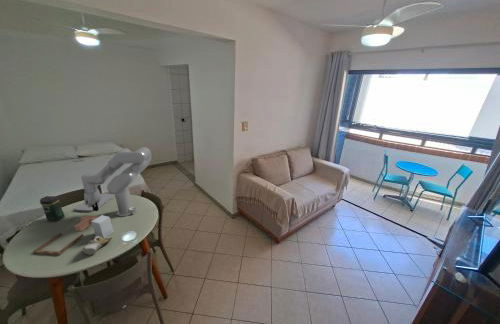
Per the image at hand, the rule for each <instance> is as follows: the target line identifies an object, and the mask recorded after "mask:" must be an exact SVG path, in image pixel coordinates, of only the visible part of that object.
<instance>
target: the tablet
mask: <svg viewBox="0 0 500 324" xmlns="http://www.w3.org/2000/svg"><path fill="white" fill-rule="evenodd" d="M100 195H101V200H100V201H99V203H98V204H99V205H98V208H100V206H101V207H102V206H104V205H105V204H106V203H108V202H109V201H110V200H109V199H111V198H112V197H114V198H115V194H113V193H100ZM112 199H113V198H112ZM112 199H111V200H112ZM108 200H109V201H108ZM107 201H108V202H107ZM105 202H106V203H105ZM104 203H105V204H104ZM74 210H75V211H77V212H88V213H92V212H94V211H93V208H92V207H88V205H85V201H84V202H83V203H81V204H79V205H78V206H76V207H74Z"/></svg>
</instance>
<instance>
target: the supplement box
mask: <svg viewBox="0 0 500 324" xmlns="http://www.w3.org/2000/svg"><path fill="white" fill-rule="evenodd" d="M111 221H112V220H111V218H110V216H106V215H102V214H101V215H100V216H98V218H96V219H95V220H93V221H91V223H92V224H91V227H92V228H93V231H94V235H95V237H96V236H101V237H103V239H107V238H109V236H111V235H112V234H114V227H113V224H112V222H111Z"/></svg>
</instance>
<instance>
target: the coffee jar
mask: <svg viewBox="0 0 500 324" xmlns="http://www.w3.org/2000/svg"><path fill="white" fill-rule="evenodd" d="M39 203H40V205H41V207H42V209H43V211H44V214H45V217H46V220H47V221H48V222H59V221H60V220H63V219H64V218H65V212H64V211H63V208H62V206H61V204H60V199H59V197H58V196H53V195H46V196H44V197H41V198H40V200H39Z"/></svg>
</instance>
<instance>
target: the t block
mask: <svg viewBox="0 0 500 324" xmlns="http://www.w3.org/2000/svg"><path fill="white" fill-rule="evenodd" d="M98 217H99V216H98V215H88V214H85V215H83V216H82V217H80V221H79V222H78V223H76V224H74V225H73V226H74V230H75V231H76V232H81V231H83V230H84V229H86V228H87V227H88V226H90V225H92V223H91V221H93V220H95V219H96V218H98Z"/></svg>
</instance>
